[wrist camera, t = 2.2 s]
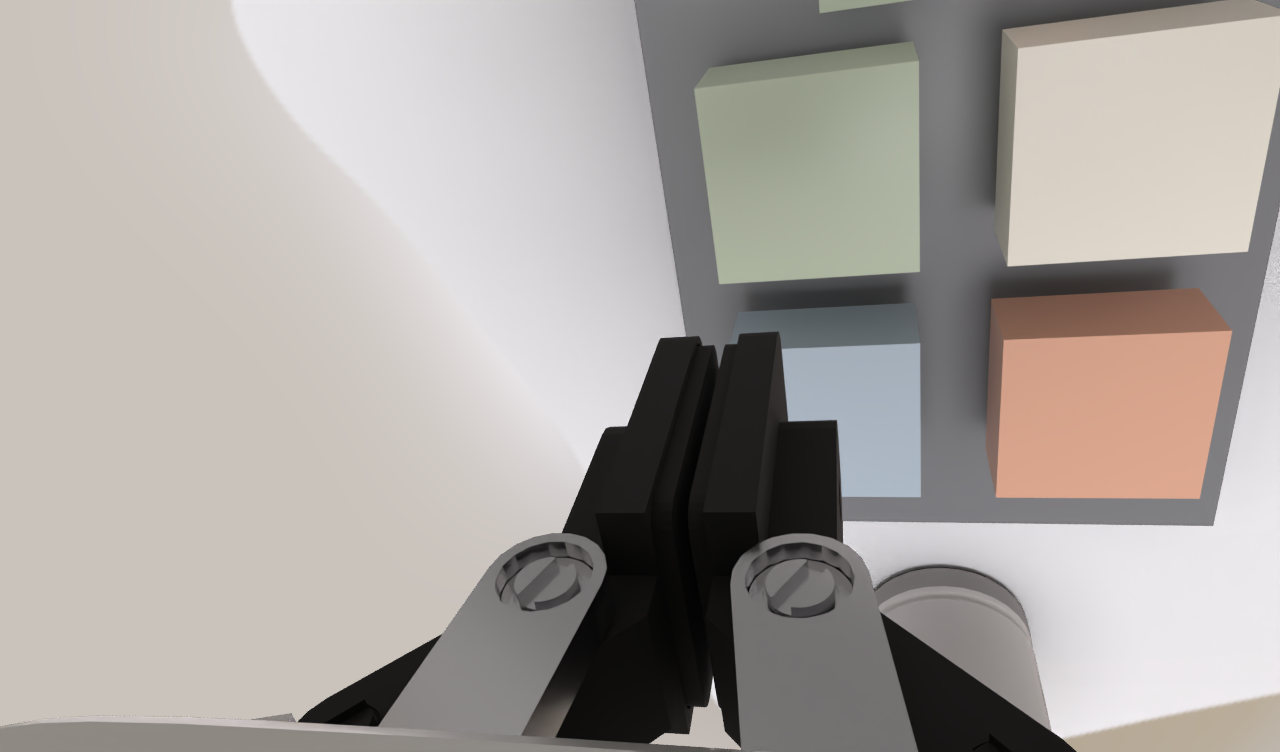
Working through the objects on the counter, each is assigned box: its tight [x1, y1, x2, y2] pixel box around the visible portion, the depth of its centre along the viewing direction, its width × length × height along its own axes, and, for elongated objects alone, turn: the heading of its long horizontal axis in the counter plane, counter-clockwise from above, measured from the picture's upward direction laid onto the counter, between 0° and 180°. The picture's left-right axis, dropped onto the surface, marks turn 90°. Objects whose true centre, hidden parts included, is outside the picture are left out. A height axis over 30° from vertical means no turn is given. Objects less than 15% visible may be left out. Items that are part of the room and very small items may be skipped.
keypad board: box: [634, 0, 1280, 526], centre depth 25 cm, size 16×20×2 cm
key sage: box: [694, 41, 920, 284], centre depth 21 cm, size 5×5×2 cm
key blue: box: [730, 303, 921, 497], centre depth 25 cm, size 5×5×2 cm
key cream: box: [994, 0, 1280, 266], centre depth 20 cm, size 5×5×2 cm
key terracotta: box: [985, 288, 1232, 499], centre depth 23 cm, size 5×5×2 cm
